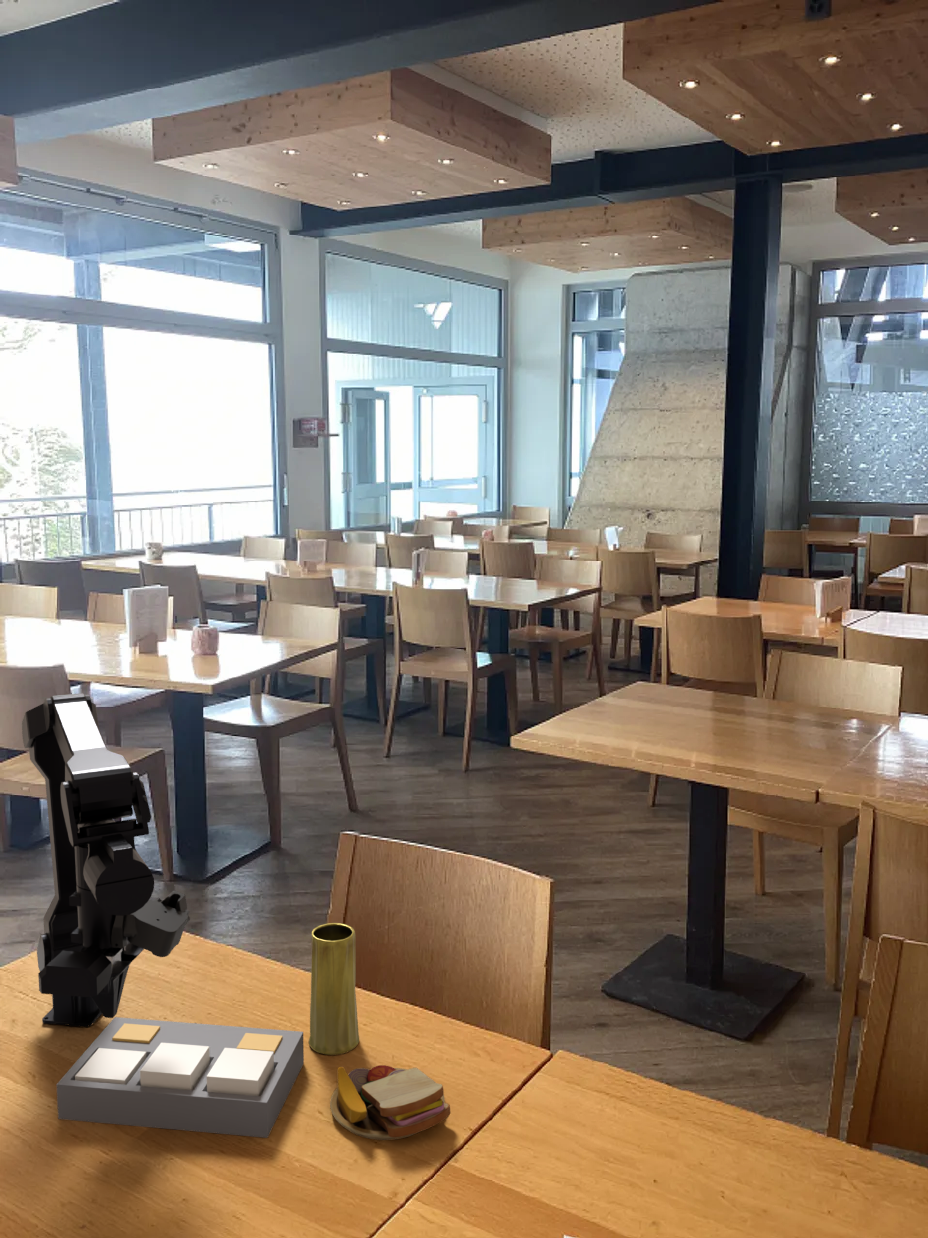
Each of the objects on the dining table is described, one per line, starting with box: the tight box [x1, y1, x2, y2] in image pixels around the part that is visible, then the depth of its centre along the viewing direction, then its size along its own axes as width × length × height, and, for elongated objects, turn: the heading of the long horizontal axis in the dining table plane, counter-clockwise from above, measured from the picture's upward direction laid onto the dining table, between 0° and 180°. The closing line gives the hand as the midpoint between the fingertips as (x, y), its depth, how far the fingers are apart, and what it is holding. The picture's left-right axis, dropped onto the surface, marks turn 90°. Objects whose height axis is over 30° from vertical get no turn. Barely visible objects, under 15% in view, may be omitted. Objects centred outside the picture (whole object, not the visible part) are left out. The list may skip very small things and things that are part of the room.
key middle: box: [140, 1043, 210, 1090], centre depth 116 cm, size 6×6×2 cm
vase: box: [308, 922, 360, 1056], centre depth 129 cm, size 6×6×14 cm
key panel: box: [55, 1016, 305, 1139], centre depth 119 cm, size 23×14×4 cm, turn 83°
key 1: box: [75, 1048, 146, 1085], centre depth 117 cm, size 6×6×2 cm
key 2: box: [207, 1048, 274, 1096], centre depth 115 cm, size 6×6×2 cm
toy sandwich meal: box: [329, 1064, 451, 1141], centre depth 116 cm, size 12×14×5 cm
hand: (110, 1016), depth 116 cm, fingers closed
